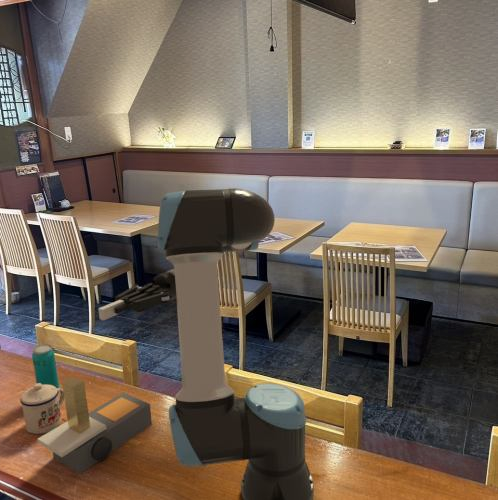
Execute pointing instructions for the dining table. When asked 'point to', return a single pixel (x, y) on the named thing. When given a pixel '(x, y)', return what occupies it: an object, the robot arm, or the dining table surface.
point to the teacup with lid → (42, 408)
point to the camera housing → (110, 431)
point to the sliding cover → (72, 421)
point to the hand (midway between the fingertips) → (101, 314)
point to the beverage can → (45, 365)
